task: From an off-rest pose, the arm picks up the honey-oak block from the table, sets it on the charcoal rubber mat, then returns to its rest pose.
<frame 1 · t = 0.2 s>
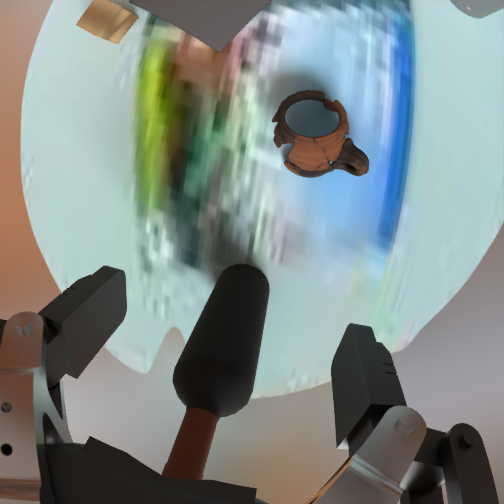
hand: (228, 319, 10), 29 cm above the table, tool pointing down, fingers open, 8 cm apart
brown hollow rounded piece: (318, 141, 34), on the table
oak block: (118, 25, 30), on the table
wine bottle: (243, 287, 43), on the table
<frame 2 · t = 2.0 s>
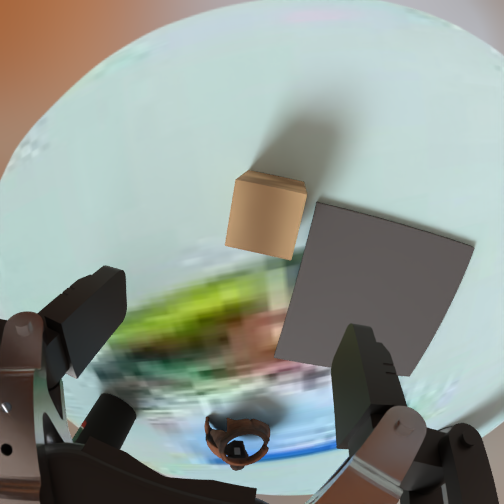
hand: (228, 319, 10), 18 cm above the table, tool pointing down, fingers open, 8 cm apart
brown hollow rounded piece: (238, 425, 40), on the table
oak block: (270, 202, 26), on the table
charcoal mat: (375, 305, 29), on the table
wine bottle: (117, 407, 43), on the table
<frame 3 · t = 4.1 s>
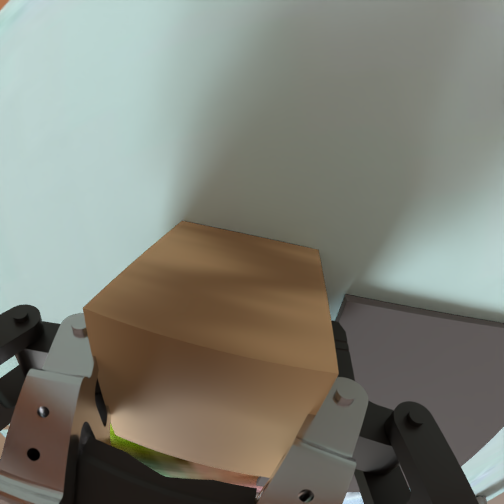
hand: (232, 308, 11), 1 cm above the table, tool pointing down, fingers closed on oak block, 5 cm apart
oak block: (238, 294, 11), on the table, touching gripper
charcoal mat: (419, 433, 14), on the table
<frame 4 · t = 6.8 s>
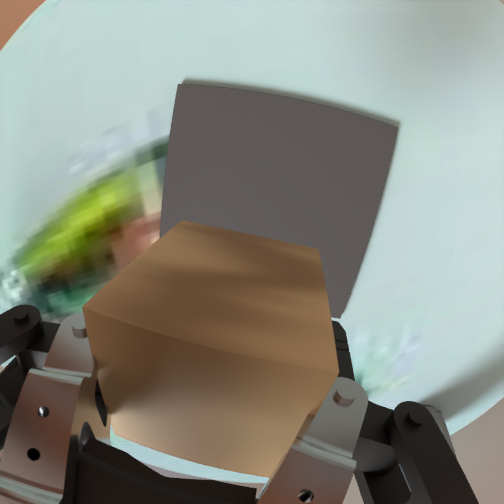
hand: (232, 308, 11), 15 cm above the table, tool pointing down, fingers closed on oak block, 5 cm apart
oak block: (238, 294, 11), point 14 cm above the table, touching gripper
charcoal mat: (267, 205, 24), on the table
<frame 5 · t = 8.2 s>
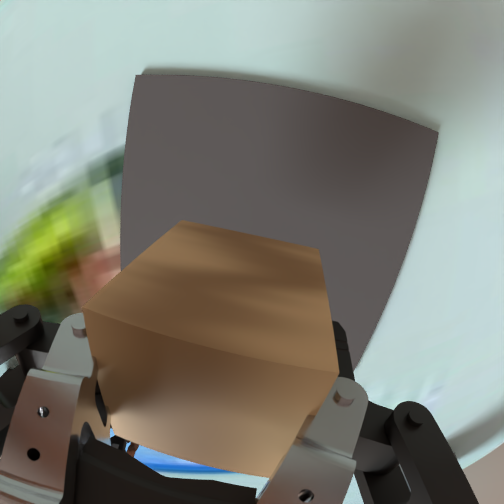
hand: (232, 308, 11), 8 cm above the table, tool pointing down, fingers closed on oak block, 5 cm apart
brown hollow rounded piece: (116, 415, 29), on the table
oak block: (238, 294, 11), point 7 cm above the table, touching gripper
charcoal mat: (257, 239, 18), on the table
wine bottle: (23, 386, 32), on the table
when the fingers open (3 cm above the table, at t = 9.6 s): oak block drops 1 cm, resting on charcoal mat.
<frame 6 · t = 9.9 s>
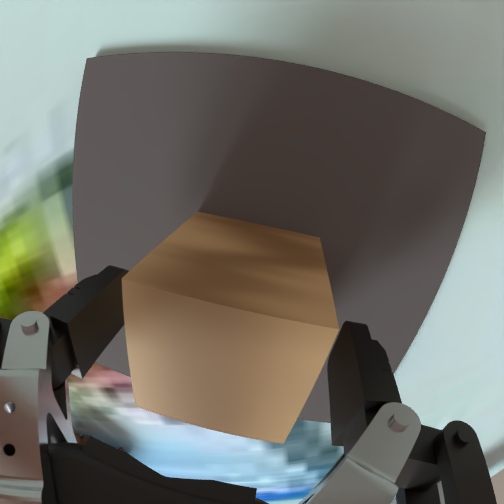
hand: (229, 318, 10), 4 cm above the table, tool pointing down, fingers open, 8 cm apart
oak block: (247, 279, 13), resting on charcoal mat
charcoal mat: (244, 273, 13), on the table
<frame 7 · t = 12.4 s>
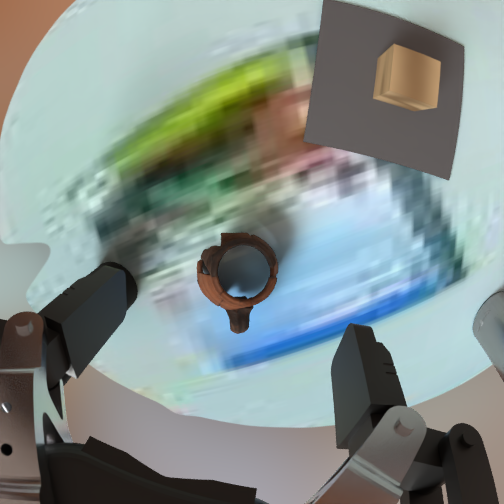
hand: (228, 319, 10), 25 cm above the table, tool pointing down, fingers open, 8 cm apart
brown hollow rounded piece: (239, 270, 37), on the table
oak block: (396, 84, 25), resting on charcoal mat
charcoal mat: (393, 84, 26), on the table
wine bottle: (116, 284, 41), on the table
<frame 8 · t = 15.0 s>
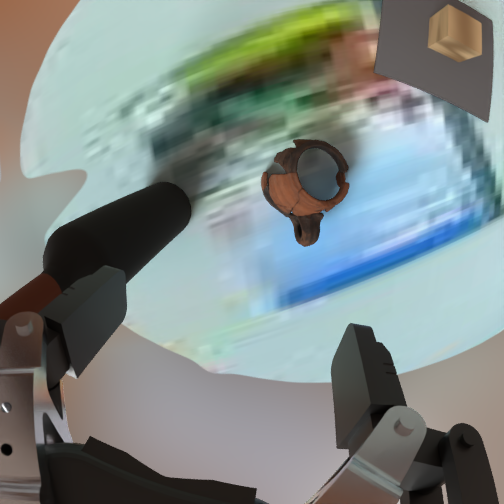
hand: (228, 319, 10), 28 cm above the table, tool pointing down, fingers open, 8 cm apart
brown hollow rounded piece: (302, 187, 36), on the table
oak block: (444, 40, 24), resting on charcoal mat
charcoal mat: (441, 40, 24), on the table
wine bottle: (165, 208, 39), on the table
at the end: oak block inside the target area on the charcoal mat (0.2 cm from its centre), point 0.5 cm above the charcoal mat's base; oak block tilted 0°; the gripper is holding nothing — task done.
